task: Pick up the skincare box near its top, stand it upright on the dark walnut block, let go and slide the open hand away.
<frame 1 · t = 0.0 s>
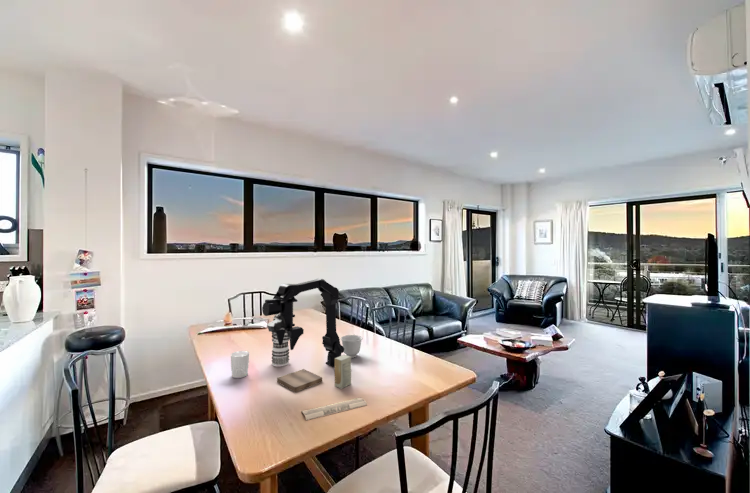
hand: (286, 347, 144), 15 cm above the table, tool pointing down, fingers open, 9 cm apart
teacup: (351, 355, 178), on the table
white cup: (239, 375, 149), on the table
walnut block: (299, 383, 142), on the table
skincare box: (342, 385, 140), on the table
newspaper: (335, 412, 119), on the table
decorative candle: (280, 363, 165), on the table
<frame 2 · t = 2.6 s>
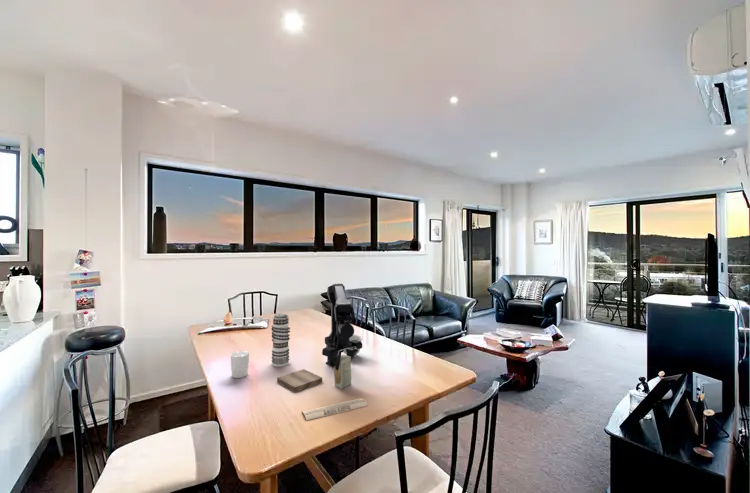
hand: (342, 367, 140), 8 cm above the table, tool pointing down, fingers closed on skincare box, 6 cm apart
skincare box: (342, 385, 140), on the table, touching gripper
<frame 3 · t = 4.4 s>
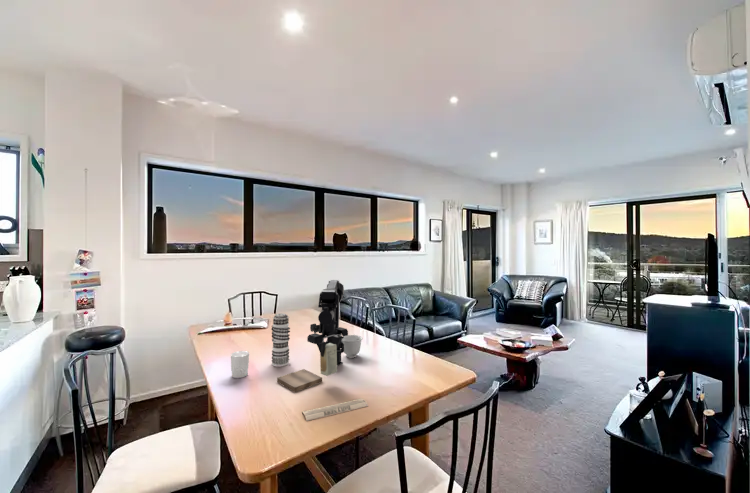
hand: (328, 354, 141), 13 cm above the table, tool pointing down, fingers closed on skincare box, 6 cm apart
skincare box: (328, 373, 141), point 5 cm above the table, touching gripper
everything else where it was.
when the fingers open (11 cm above the table, at t = 6.2 s): skincare box stays where it is, resting on walnut block.
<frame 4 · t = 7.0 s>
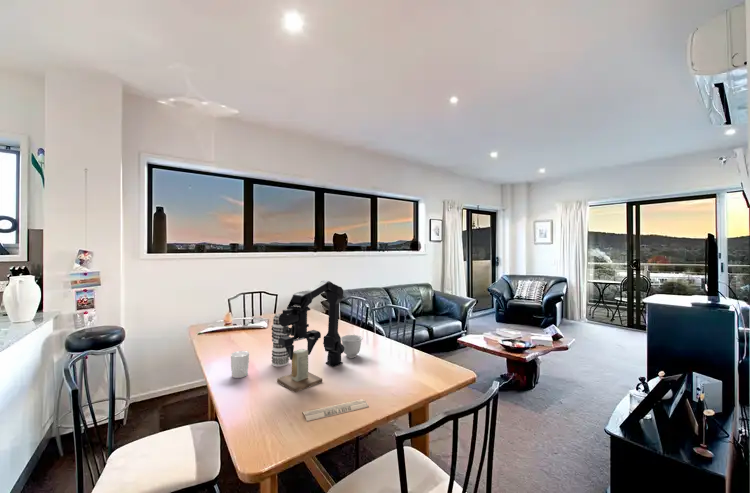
hand: (300, 357, 142), 11 cm above the table, tool pointing down, fingers open, 9 cm apart
walnut block: (299, 384, 143), on the table, touching skincare box
skincare box: (299, 379, 142), point 1 cm above the table, touching walnut block
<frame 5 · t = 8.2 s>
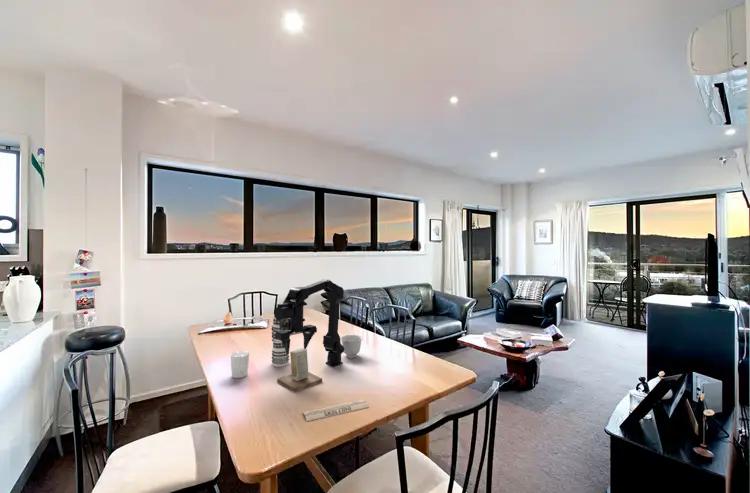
hand: (296, 351, 144), 13 cm above the table, tool pointing down, fingers open, 9 cm apart
walnut block: (299, 384, 143), on the table
skincare box: (300, 378, 142), point 1 cm above the table
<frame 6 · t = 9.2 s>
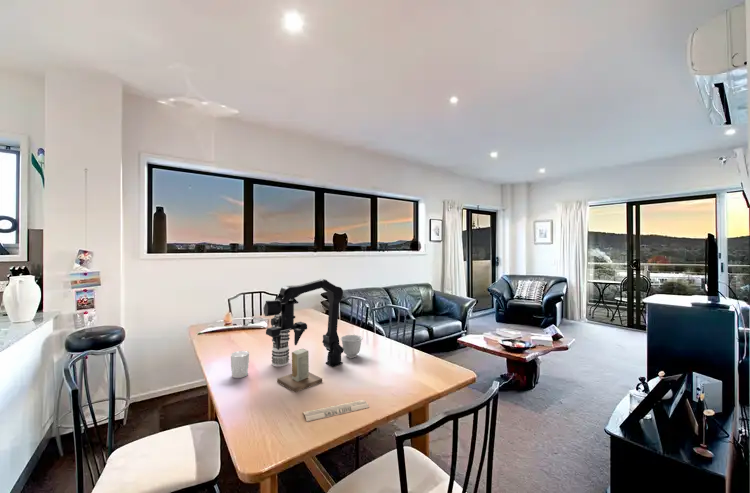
hand: (287, 347, 150), 13 cm above the table, tool pointing down, fingers open, 9 cm apart
walnut block: (299, 384, 143), on the table, touching skincare box
skincare box: (300, 378, 142), point 1 cm above the table, touching walnut block
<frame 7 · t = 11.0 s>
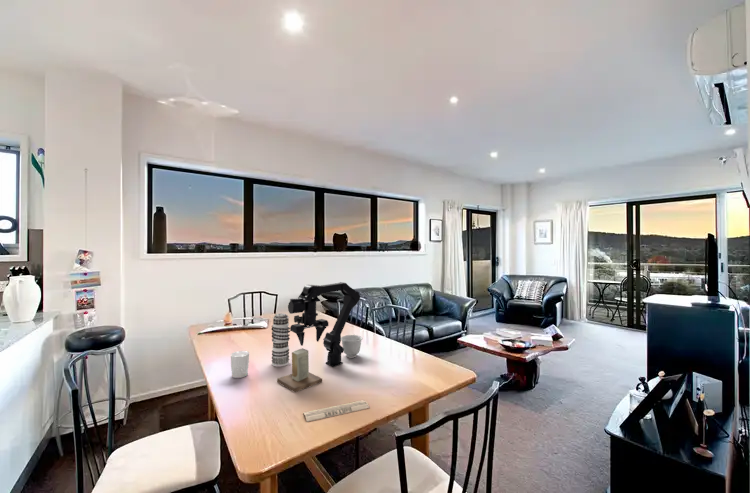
hand: (309, 343, 156), 13 cm above the table, tool pointing down, fingers open, 9 cm apart
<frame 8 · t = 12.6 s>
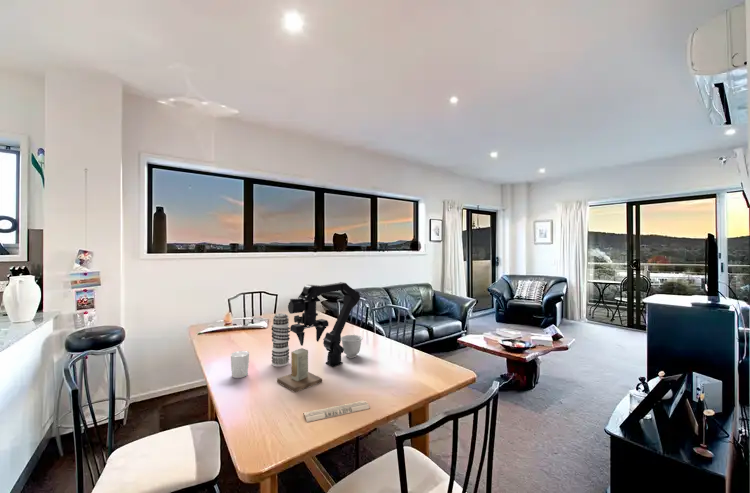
hand: (309, 343, 156), 13 cm above the table, tool pointing down, fingers open, 9 cm apart
at the end: skincare box inside the target area on the walnut block (0.4 cm from its centre), point 2.4 cm above the walnut block's base; skincare box tilted 1°; the gripper is holding nothing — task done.
